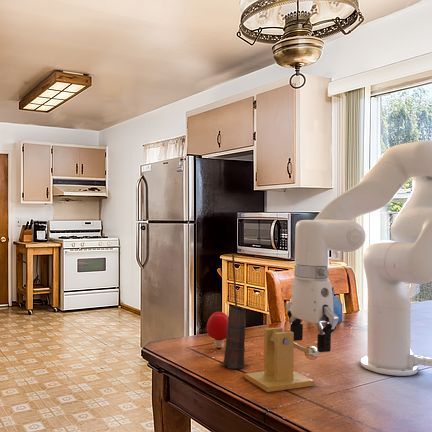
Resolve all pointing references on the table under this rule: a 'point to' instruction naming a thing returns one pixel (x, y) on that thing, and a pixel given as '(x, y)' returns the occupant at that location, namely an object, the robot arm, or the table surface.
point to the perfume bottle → (337, 306)
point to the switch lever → (302, 348)
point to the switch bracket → (278, 364)
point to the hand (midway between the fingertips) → (309, 345)
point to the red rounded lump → (218, 328)
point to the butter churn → (235, 334)
